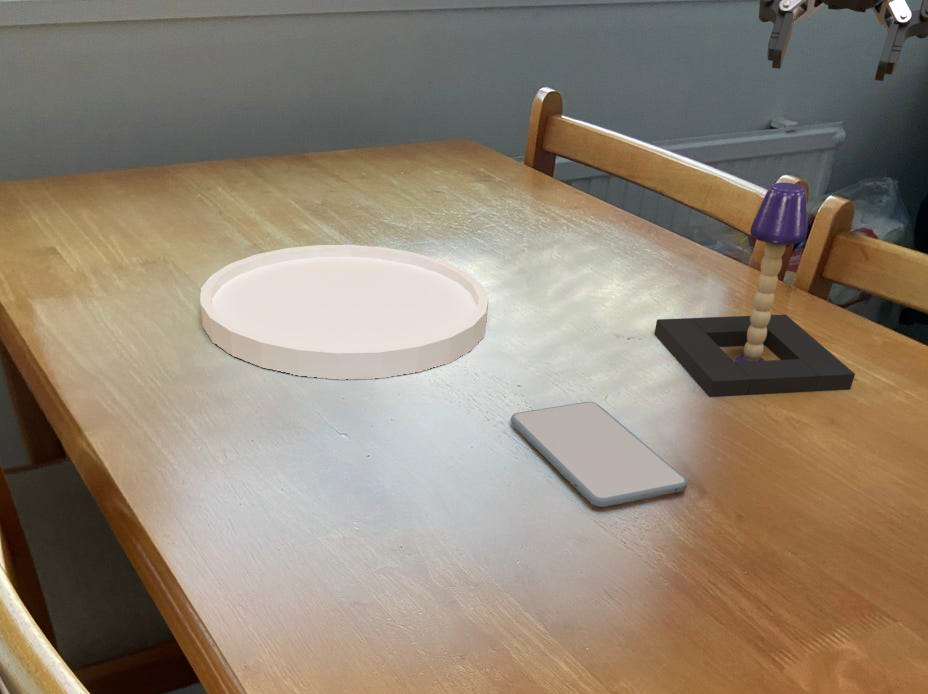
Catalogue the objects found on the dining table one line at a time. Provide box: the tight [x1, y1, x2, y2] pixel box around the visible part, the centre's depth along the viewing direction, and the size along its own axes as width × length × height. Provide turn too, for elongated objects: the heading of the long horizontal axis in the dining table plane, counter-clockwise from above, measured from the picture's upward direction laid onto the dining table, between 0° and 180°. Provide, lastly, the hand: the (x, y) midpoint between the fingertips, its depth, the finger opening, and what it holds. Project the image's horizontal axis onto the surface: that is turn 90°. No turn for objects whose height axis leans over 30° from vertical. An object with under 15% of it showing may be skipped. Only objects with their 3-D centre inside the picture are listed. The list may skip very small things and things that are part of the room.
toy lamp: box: [734, 182, 808, 362], centre depth 88 cm, size 5×5×17 cm
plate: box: [199, 244, 489, 381], centre depth 99 cm, size 28×28×2 cm
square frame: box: [654, 314, 856, 398], centre depth 93 cm, size 13×13×3 cm
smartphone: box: [510, 401, 688, 508], centre depth 80 cm, size 8×1×15 cm
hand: (828, 68), depth 85 cm, fingers open, 8 cm apart
